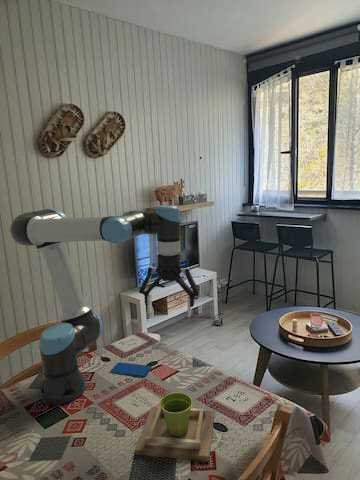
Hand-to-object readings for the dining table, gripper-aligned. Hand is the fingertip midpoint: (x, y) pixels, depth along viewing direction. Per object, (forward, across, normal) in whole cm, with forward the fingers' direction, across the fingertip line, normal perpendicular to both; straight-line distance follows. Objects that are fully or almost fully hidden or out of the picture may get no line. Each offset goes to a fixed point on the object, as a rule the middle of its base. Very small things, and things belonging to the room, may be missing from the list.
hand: (169, 314), depth 121 cm
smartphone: (+29, +18, -10) cm, 35 cm away
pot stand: (+27, -6, +22) cm, 36 cm away
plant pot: (+26, -6, +22) cm, 35 cm away
